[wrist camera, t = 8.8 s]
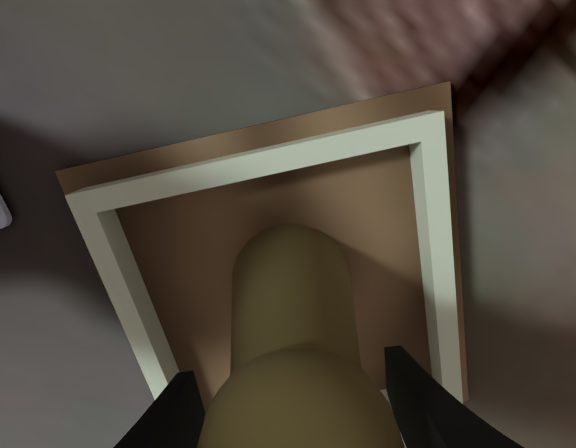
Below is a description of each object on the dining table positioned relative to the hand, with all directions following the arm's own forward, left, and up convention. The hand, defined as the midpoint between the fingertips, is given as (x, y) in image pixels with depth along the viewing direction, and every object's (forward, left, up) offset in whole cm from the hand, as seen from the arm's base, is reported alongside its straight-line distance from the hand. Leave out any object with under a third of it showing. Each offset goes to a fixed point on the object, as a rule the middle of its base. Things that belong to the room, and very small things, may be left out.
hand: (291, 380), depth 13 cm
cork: (0, +1, -6) cm, 6 cm away
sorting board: (0, 0, -6) cm, 6 cm away
